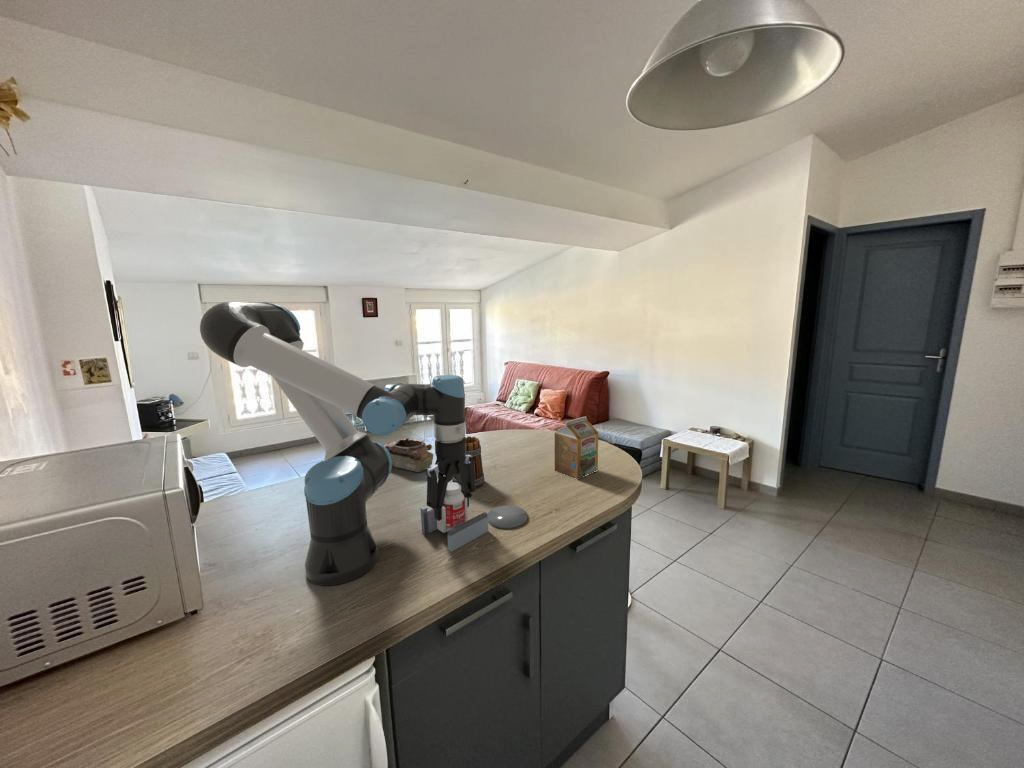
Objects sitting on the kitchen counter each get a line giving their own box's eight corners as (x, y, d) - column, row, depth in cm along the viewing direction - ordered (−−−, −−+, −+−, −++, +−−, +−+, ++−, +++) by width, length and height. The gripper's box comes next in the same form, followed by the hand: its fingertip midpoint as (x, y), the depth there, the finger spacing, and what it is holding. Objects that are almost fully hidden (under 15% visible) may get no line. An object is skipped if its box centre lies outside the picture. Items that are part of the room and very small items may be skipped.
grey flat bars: (451, 552, 92) (449, 524, 91) (422, 533, 101) (420, 508, 99) (488, 531, 101) (487, 505, 100) (458, 515, 109) (457, 492, 108)
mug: (486, 477, 134) (485, 435, 132) (481, 491, 124) (479, 445, 121) (442, 476, 136) (440, 434, 133) (433, 489, 126) (430, 445, 123)
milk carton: (577, 480, 131) (577, 425, 127) (554, 470, 139) (554, 418, 135) (597, 471, 137) (598, 419, 134) (574, 463, 145) (575, 413, 142)
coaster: (507, 533, 100) (507, 530, 100) (478, 518, 107) (478, 516, 107) (535, 516, 108) (535, 514, 107) (506, 504, 115) (506, 501, 115)
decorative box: (408, 480, 134) (406, 452, 132) (371, 468, 145) (369, 443, 143) (436, 467, 144) (435, 442, 143) (399, 457, 155) (398, 433, 154)
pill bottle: (454, 535, 96) (453, 493, 94) (435, 529, 99) (434, 488, 97) (469, 524, 102) (468, 484, 100) (450, 518, 105) (449, 479, 103)
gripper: (426, 452, 87) (430, 546, 91) (489, 433, 101) (490, 516, 105) (407, 444, 92) (412, 534, 96) (470, 427, 106) (471, 506, 110)
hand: (452, 524), depth 100 cm, fingers closed on pill bottle, 6 cm apart
